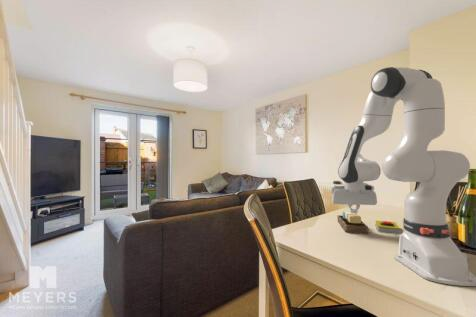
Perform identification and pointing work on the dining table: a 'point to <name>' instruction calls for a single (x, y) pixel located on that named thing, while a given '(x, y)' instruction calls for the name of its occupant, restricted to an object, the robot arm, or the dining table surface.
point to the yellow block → (354, 219)
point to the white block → (349, 214)
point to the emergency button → (387, 227)
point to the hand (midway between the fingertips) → (353, 213)
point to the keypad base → (352, 226)
